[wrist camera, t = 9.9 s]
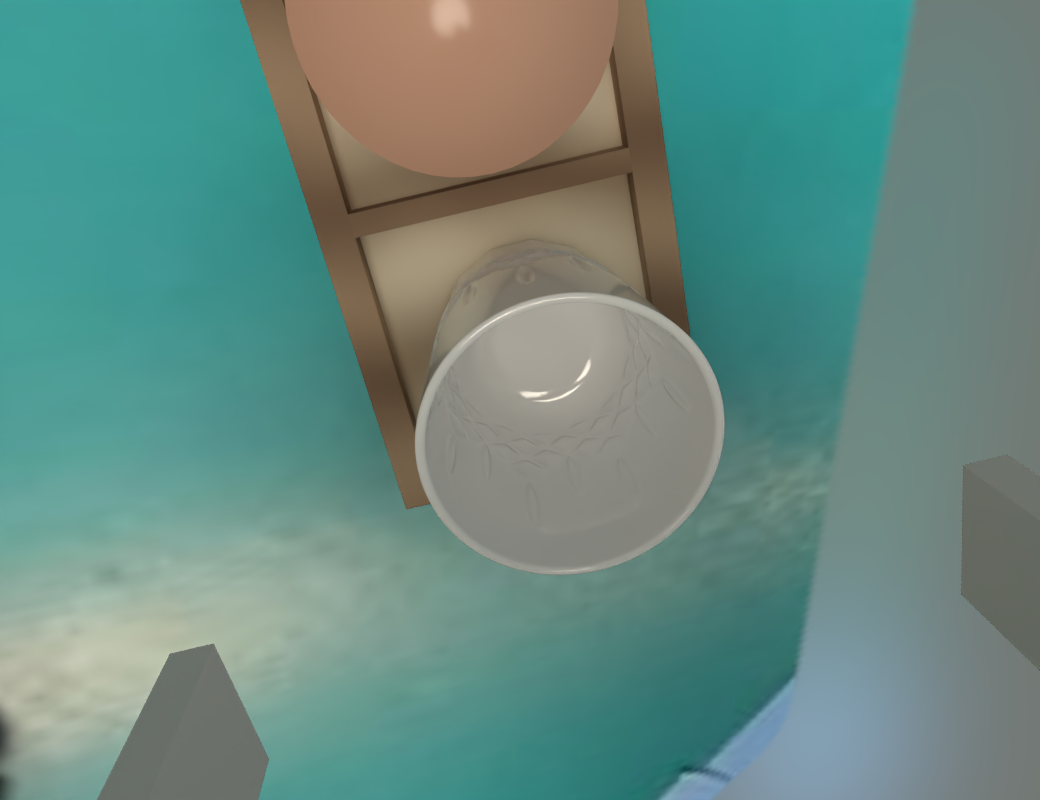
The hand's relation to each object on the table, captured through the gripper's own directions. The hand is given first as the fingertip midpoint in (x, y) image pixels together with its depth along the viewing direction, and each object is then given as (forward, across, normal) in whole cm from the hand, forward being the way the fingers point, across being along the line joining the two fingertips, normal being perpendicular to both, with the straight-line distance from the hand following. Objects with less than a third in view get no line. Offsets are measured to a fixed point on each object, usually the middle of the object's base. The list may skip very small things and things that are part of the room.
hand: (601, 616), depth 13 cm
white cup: (+17, 0, 0) cm, 17 cm away
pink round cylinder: (+16, 0, -11) cm, 19 cm away
